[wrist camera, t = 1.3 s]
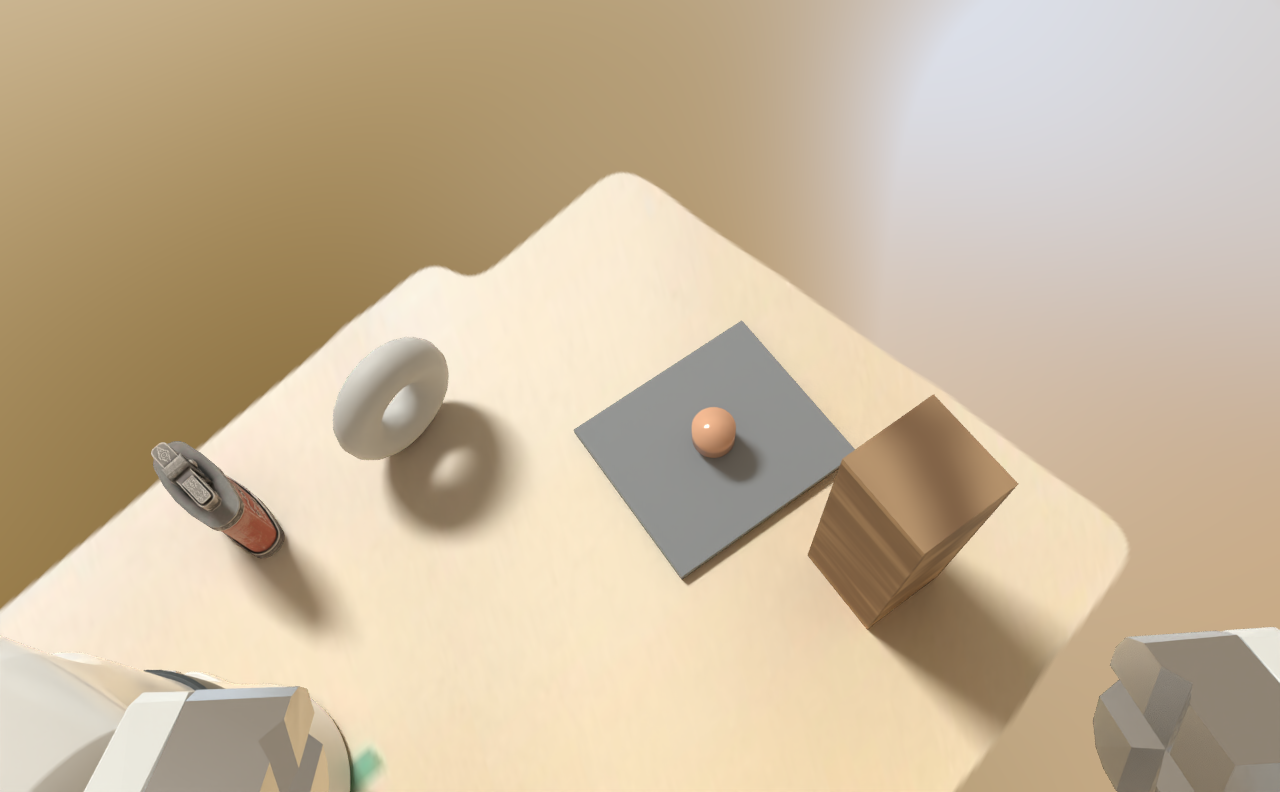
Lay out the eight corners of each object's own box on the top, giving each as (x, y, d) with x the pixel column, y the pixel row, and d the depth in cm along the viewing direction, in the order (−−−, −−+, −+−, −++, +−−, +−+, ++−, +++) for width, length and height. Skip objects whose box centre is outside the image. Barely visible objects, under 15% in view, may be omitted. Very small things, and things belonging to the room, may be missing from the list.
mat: (681, 579, 66) (681, 577, 66) (574, 432, 72) (573, 429, 71) (856, 455, 70) (857, 452, 69) (741, 324, 75) (741, 320, 74)
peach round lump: (708, 468, 69) (709, 455, 67) (683, 436, 71) (682, 422, 68) (743, 445, 70) (744, 431, 68) (717, 413, 71) (718, 399, 69)
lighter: (194, 500, 71) (121, 451, 62) (230, 469, 72) (162, 415, 63) (259, 568, 69) (192, 527, 60) (294, 534, 70) (233, 489, 61)
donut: (438, 368, 75) (402, 303, 66) (470, 391, 74) (438, 328, 65) (351, 463, 72) (301, 408, 63) (383, 487, 71) (336, 436, 62)
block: (867, 629, 64) (924, 554, 47) (807, 555, 67) (842, 458, 50) (937, 575, 65) (1018, 484, 49) (876, 505, 68) (933, 394, 51)
